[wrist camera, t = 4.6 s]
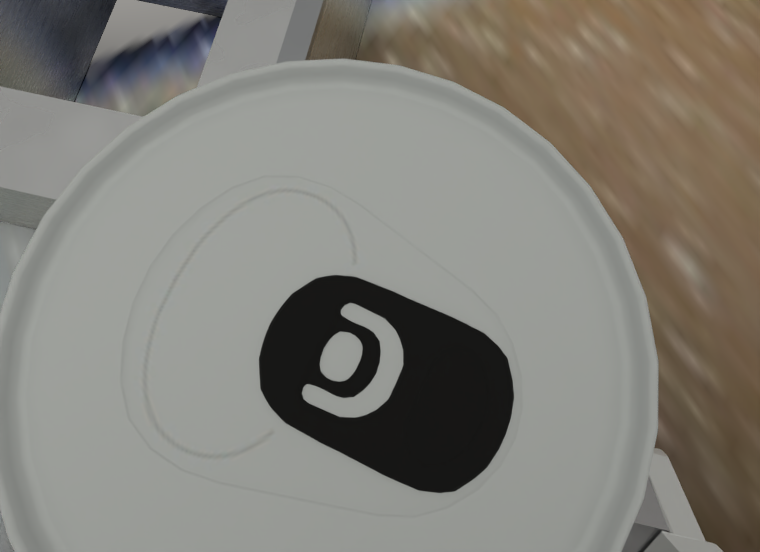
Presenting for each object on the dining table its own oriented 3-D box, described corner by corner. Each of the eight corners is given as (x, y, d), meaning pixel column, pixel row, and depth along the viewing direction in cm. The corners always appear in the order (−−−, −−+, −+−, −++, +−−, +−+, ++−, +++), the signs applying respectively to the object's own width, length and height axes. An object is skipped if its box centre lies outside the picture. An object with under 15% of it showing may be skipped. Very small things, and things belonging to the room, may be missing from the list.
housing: (374, -10, 22) (372, -163, 16) (292, 287, 19) (250, 240, 13) (80, -67, 23) (-31, -235, 16) (-47, 210, 19) (-243, 130, 13)
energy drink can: (331, 275, 19) (174, -97, 4) (471, 338, 18) (833, 159, 4) (261, 417, 18) (-303, 578, 3) (408, 489, 17) (582, 1111, 2)
